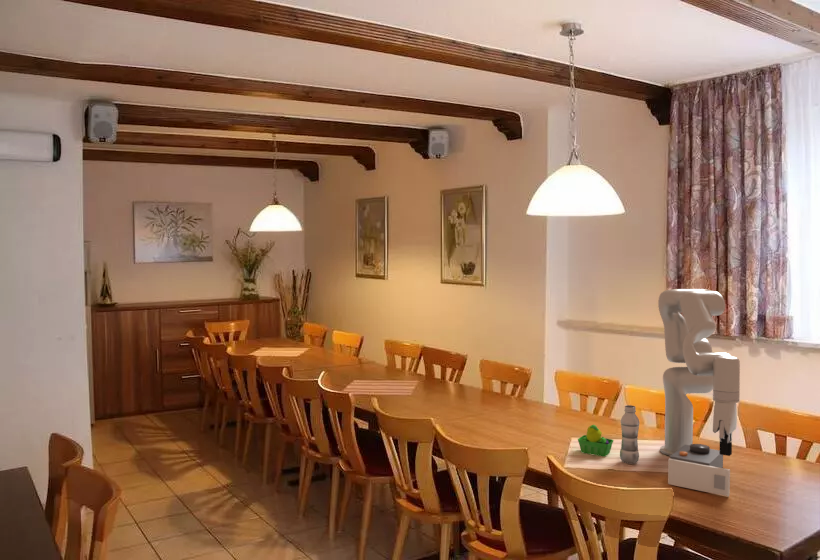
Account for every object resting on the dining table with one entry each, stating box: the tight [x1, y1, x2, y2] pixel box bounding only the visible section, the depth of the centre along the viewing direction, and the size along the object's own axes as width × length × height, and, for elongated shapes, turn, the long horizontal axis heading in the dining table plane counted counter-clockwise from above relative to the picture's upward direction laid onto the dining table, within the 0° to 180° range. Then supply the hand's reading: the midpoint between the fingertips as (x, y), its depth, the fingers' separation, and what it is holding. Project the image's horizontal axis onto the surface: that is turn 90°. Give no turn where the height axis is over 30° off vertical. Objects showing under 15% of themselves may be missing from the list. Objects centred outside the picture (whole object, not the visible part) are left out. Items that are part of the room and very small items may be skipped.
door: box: [667, 457, 731, 497], centre depth 216 cm, size 2×18×8 cm, turn 52°
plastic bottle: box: [619, 404, 640, 465], centre depth 243 cm, size 6×7×20 cm
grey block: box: [669, 443, 724, 468], centre depth 225 cm, size 16×12×11 cm
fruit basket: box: [577, 424, 615, 458], centre depth 255 cm, size 11×9×11 cm
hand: (725, 454), depth 216 cm, fingers closed
